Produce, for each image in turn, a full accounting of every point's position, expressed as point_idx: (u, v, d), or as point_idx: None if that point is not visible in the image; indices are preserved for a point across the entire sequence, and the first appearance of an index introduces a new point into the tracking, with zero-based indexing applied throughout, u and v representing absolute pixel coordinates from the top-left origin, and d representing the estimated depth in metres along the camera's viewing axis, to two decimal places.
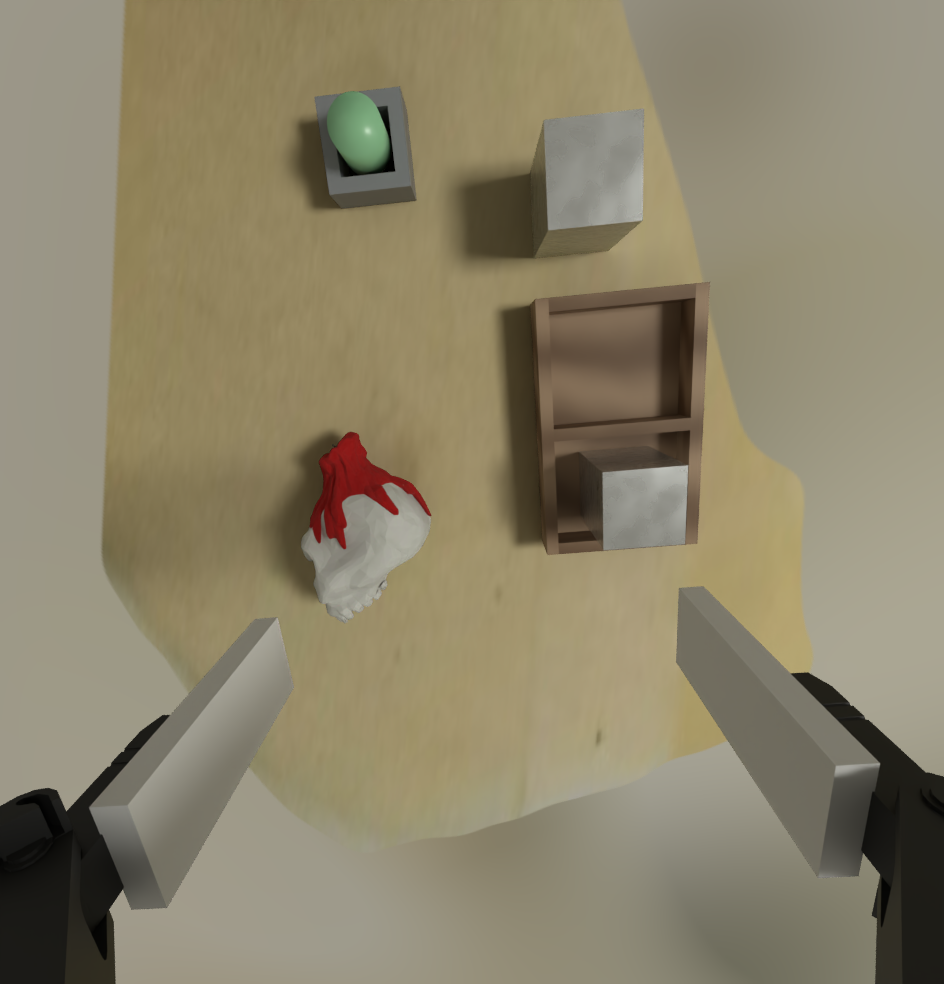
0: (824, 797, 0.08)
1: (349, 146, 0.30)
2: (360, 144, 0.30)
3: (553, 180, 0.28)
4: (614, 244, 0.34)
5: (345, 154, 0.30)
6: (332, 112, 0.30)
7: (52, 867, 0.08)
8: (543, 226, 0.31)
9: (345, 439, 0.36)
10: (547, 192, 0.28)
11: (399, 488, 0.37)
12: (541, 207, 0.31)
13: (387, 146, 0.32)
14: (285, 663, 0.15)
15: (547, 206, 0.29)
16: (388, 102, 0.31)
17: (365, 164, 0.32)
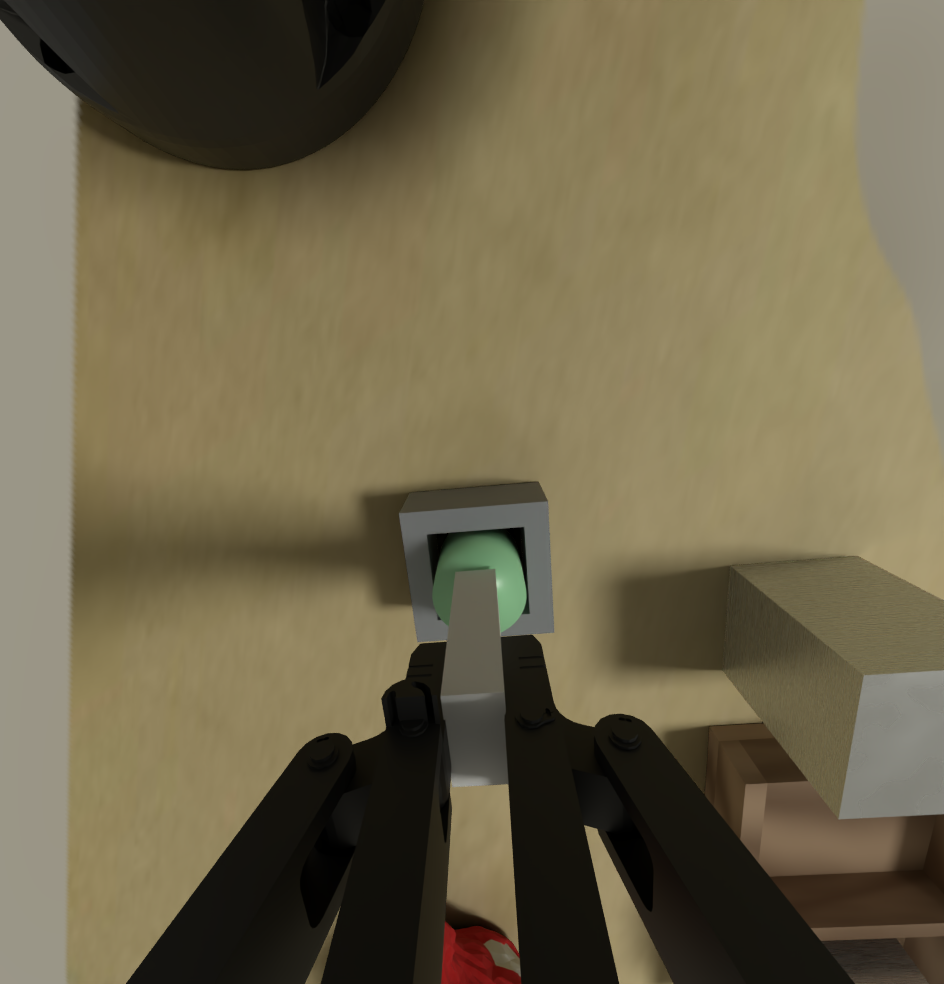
0: (475, 720, 0.11)
1: None
2: None
3: (863, 756, 0.15)
4: None
5: None
6: (442, 580, 0.17)
7: (425, 749, 0.09)
8: (803, 756, 0.18)
9: None
10: (848, 771, 0.15)
11: None
12: (796, 717, 0.18)
13: None
14: None
15: (842, 786, 0.16)
16: (526, 522, 0.18)
17: None
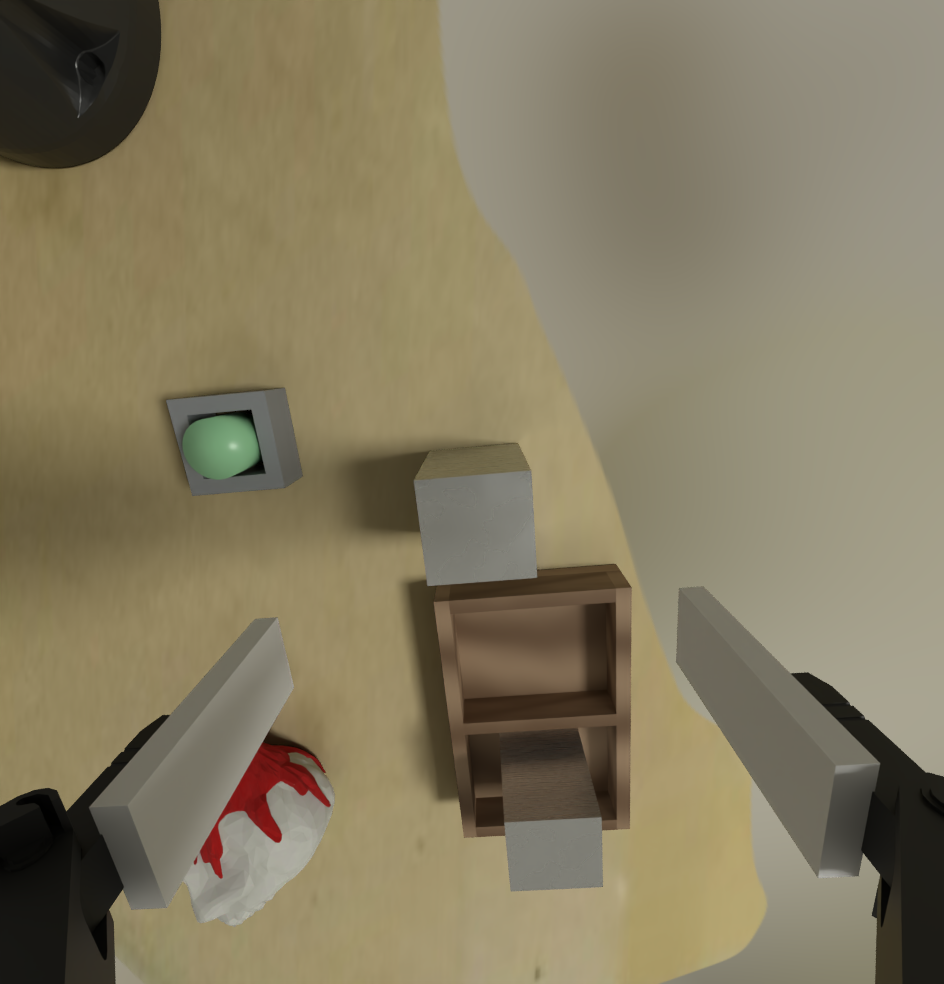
0: (824, 797, 0.08)
1: (210, 470, 0.27)
2: (222, 469, 0.27)
3: (429, 538, 0.24)
4: None
5: None
6: (187, 438, 0.26)
7: (52, 867, 0.08)
8: None
9: None
10: (423, 549, 0.24)
11: (290, 789, 0.33)
12: None
13: None
14: (285, 663, 0.15)
15: (425, 562, 0.24)
16: (252, 406, 0.27)
17: None
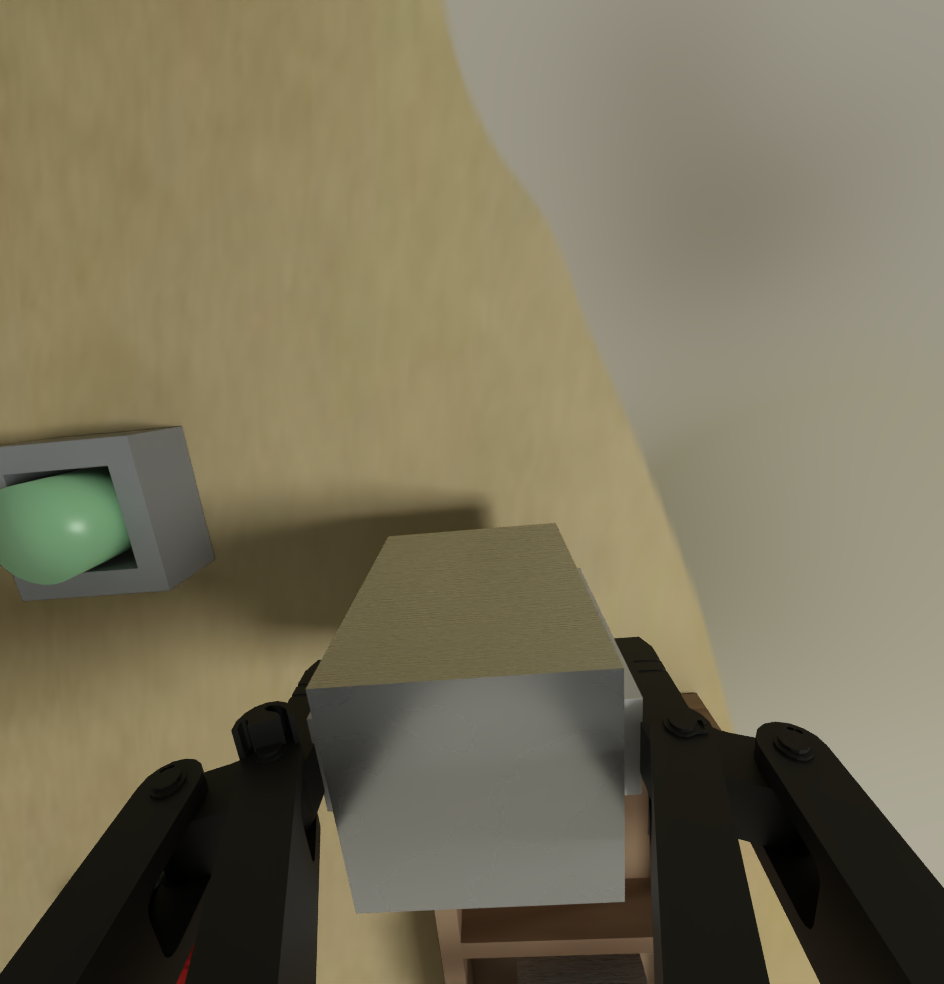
0: None
1: (31, 569, 0.16)
2: (50, 568, 0.16)
3: (356, 818, 0.09)
4: None
5: None
6: None
7: (284, 771, 0.09)
8: None
9: None
10: (342, 841, 0.10)
11: None
12: None
13: None
14: None
15: (348, 863, 0.10)
16: (108, 460, 0.16)
17: None
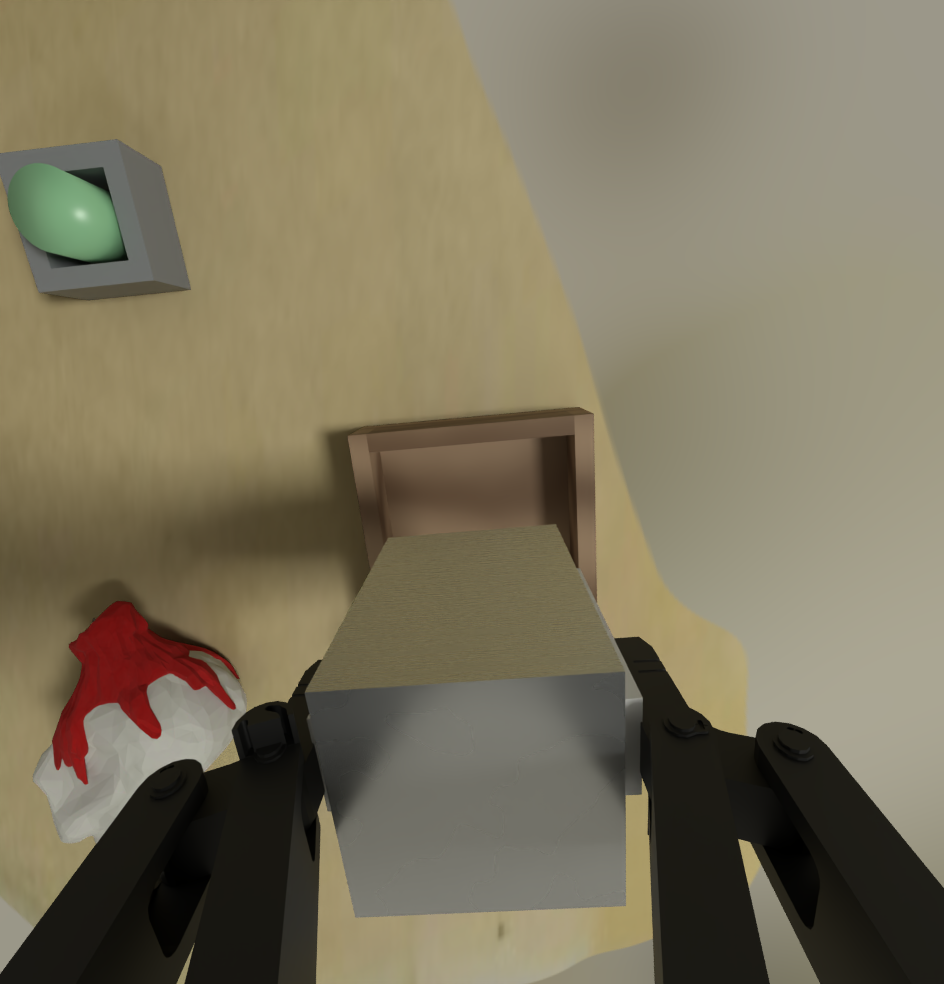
0: None
1: (46, 240, 0.21)
2: (61, 238, 0.21)
3: (355, 822, 0.09)
4: None
5: None
6: (13, 193, 0.20)
7: (284, 770, 0.09)
8: None
9: (100, 619, 0.26)
10: (342, 845, 0.10)
11: (180, 682, 0.27)
12: None
13: None
14: None
15: None
16: (103, 162, 0.21)
17: (89, 259, 0.22)
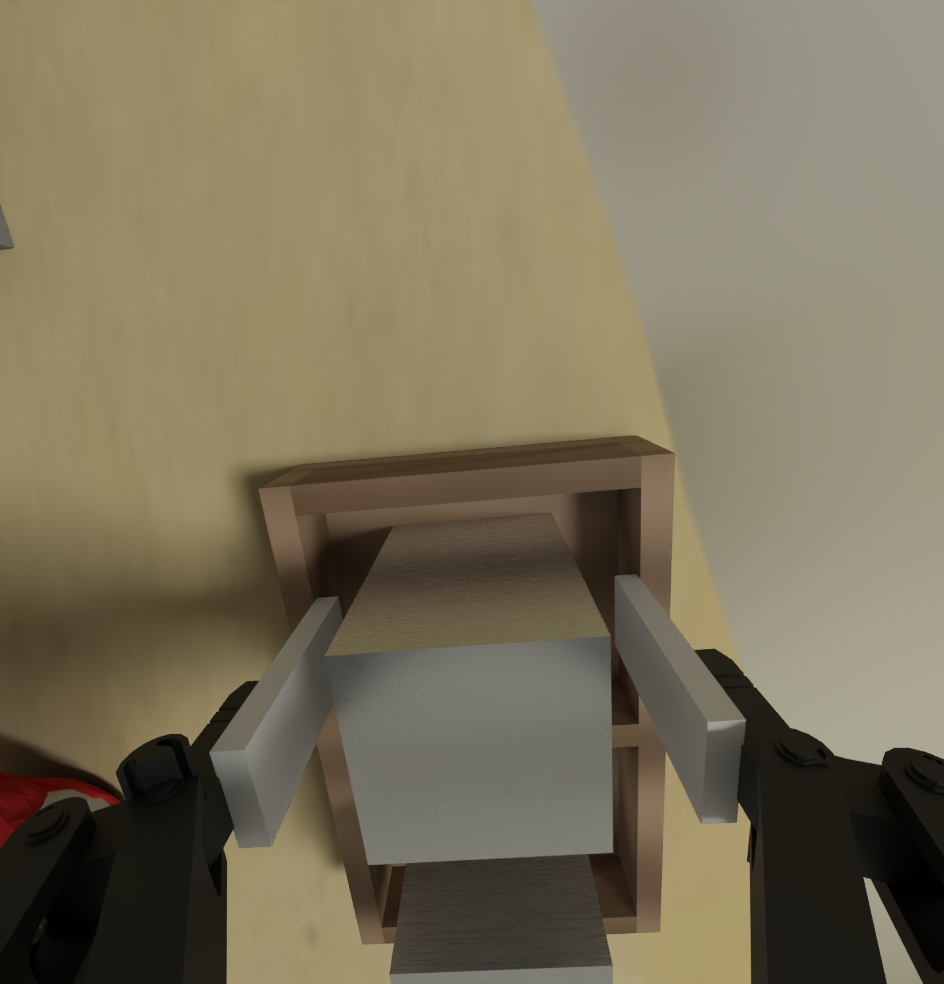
0: (702, 751, 0.09)
1: None
2: None
3: (369, 776, 0.10)
4: None
5: None
6: None
7: (181, 806, 0.08)
8: None
9: None
10: (356, 797, 0.11)
11: None
12: None
13: None
14: None
15: (361, 818, 0.11)
16: None
17: None
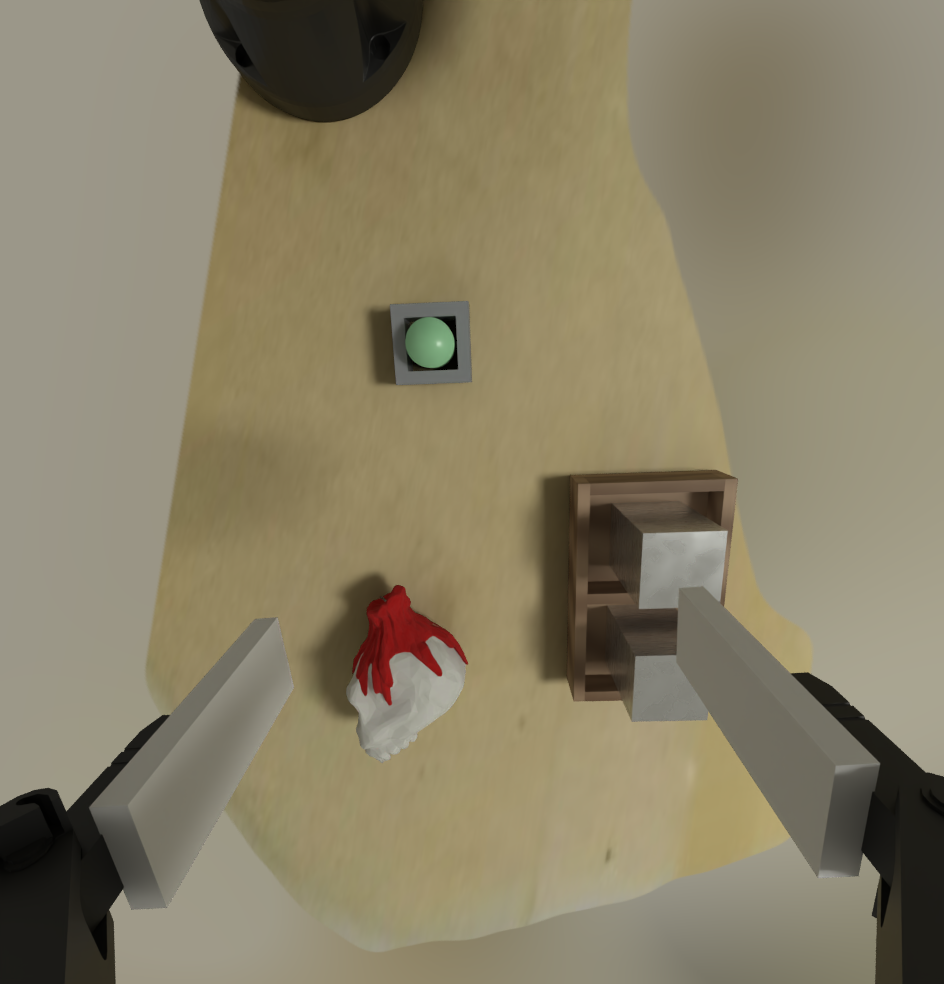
0: (824, 797, 0.08)
1: (423, 359, 0.34)
2: (433, 359, 0.34)
3: (646, 575, 0.33)
4: None
5: (419, 364, 0.34)
6: (410, 332, 0.34)
7: (52, 867, 0.08)
8: (630, 588, 0.36)
9: (394, 596, 0.39)
10: (641, 582, 0.33)
11: (441, 642, 0.40)
12: (629, 569, 0.36)
13: (454, 351, 0.36)
14: (285, 663, 0.15)
15: (639, 591, 0.34)
16: (456, 313, 0.35)
17: None
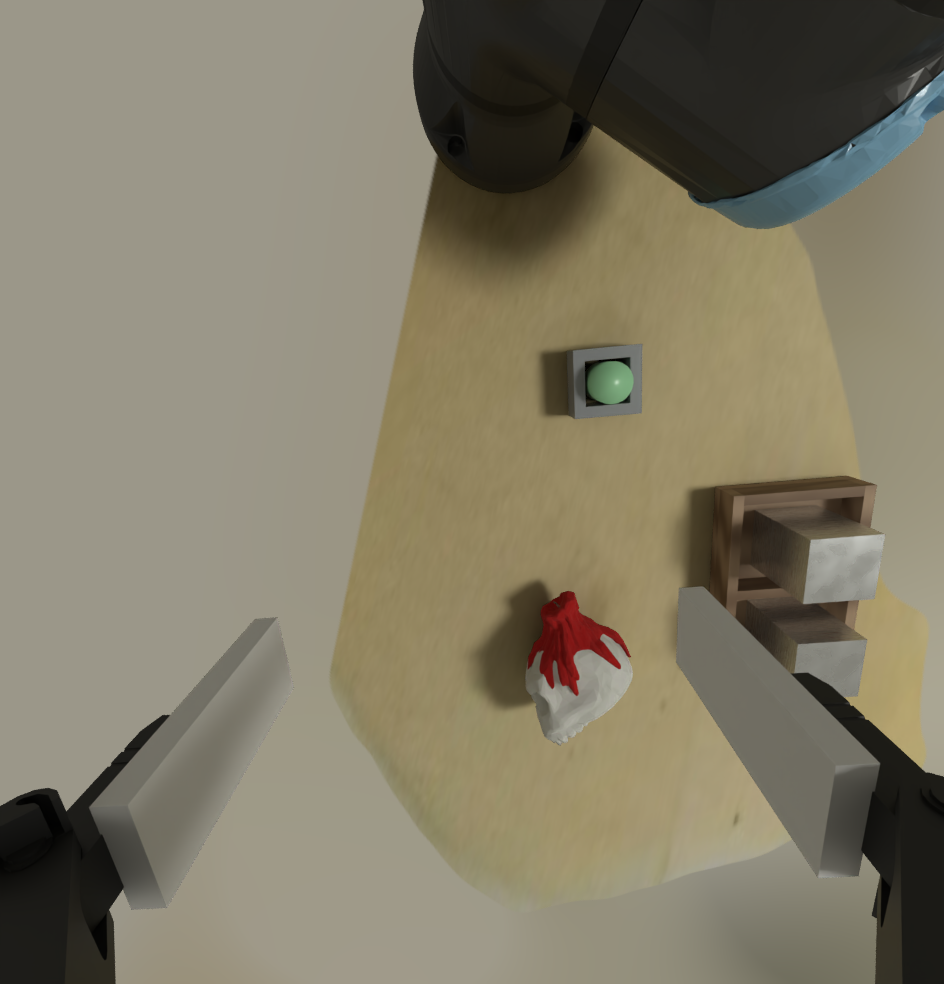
0: (824, 797, 0.08)
1: (606, 397, 0.39)
2: (614, 396, 0.39)
3: (812, 574, 0.39)
4: None
5: (601, 401, 0.40)
6: (596, 375, 0.39)
7: (52, 867, 0.08)
8: (789, 585, 0.41)
9: (569, 601, 0.45)
10: (806, 581, 0.39)
11: (611, 639, 0.45)
12: (786, 569, 0.41)
13: None
14: (285, 663, 0.15)
15: (804, 589, 0.39)
16: (631, 354, 0.40)
17: None
